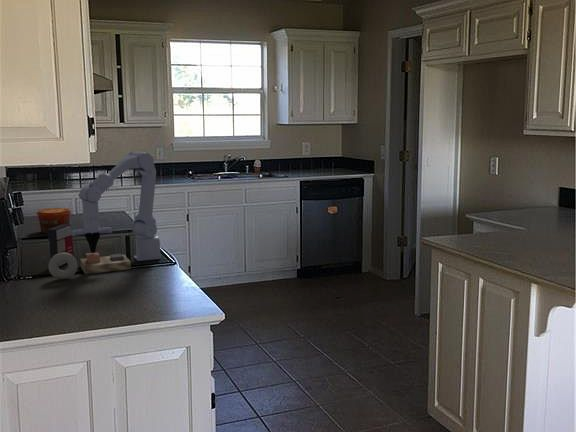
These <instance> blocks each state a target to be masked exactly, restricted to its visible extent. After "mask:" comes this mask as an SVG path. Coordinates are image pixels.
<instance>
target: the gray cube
mask: <svg viewBox="0 0 576 432" xmlns="http://www.w3.org/2000/svg"><path fill="white" fill-rule="evenodd" d="M123 255H124V254H122V253H116V254H110V255H109V256H110V260H111V261H118V260H124V256H123Z"/></svg>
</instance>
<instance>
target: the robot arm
mask: <svg viewBox="0 0 576 432" xmlns="http://www.w3.org/2000/svg"><path fill="white" fill-rule="evenodd" d="M130 169H135V170H137V171H138V172H139V174H140V175H141V184H140V196H139V204H138V205H139V206H138V213H137V214H136V216H134V221H133V224H132V225H131V231H132V232H133V233H134V238H135V251H136V255H133V258H134V259H135V260H136V261H138V262H141V261H142V262H143V261H152V260H160V259H162V257H161V241H160V237H159V236H157V235H156V234H157V232H158V228H157V223H156V222H157V219H156V218H155V217H154V215H153V211H154V210H153V209H154V201H155V189H156V179H157V178H156V177H157V170H156V166H155V157H153V156H152V155H151V153H149V152H147V151H146V152H141V151H135V150H132V151H130V152H129V153H128V154H126V155H124V157H123V159H122V160H120V162H118V163H117V164H116V165H115V166H114V167H113V168H111V170H110V171H109V172H108V173H105V172H104V173H99V174H98V175H97V178H95V179H94V180H93V181H90V182H89V183H88V185H85V186H83V187H82V188H81V189H80V191H79V193H78V197H79V199H80V201H81V204H82V221H83V228H78V229H71V236H72V237H75V236H83V235H84V238H85V240H86V241H87V244H88V246H89V250H90V253H96V249H97V245H98V243H99V239H100V238H101V234H105V233H107V234H111V233H113V229H112V227H111V226H100V214H99V213H100V212H99V210H100V209H99V201H100V200H101V197H102V195H103V194H104V193H105V192H106V191H107V190H109V188H111V187H112V186H113V185H114V181H115V180H116V179H117V178H118V177H120V176H121V175H123V174H124V173H125V172H127V171H128V170H130Z"/></svg>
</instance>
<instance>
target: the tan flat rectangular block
mask: <svg viewBox="0 0 576 432" xmlns="http://www.w3.org/2000/svg"><path fill="white" fill-rule="evenodd" d="M122 255H123V256H124V260H118V261H111V260H110V255H108V256H107V255H106V256H100V262H98V263H88V264H87V261H86V258H79V259H80V268H81V269H82V271H83V273H84V275H88V274H97V273H107V272H117V271H124V270H125V271H126V270H131V269H132V265H131V264H132V263H131V260H130V259H129V258H128V257H127V256H126V254H122Z"/></svg>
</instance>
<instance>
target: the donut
mask: <svg viewBox="0 0 576 432" xmlns="http://www.w3.org/2000/svg"><path fill="white" fill-rule="evenodd" d="M60 262H66V264H67V268H66V269H60V267H58V265H59V263H60ZM47 266H48V267H47V268H48V272H49V273H50V274H51V276H52V277H54V278H56V279H57V280H68V279H70V278H72V277H73V276H74V275H75V274H76V272H77V271H78V268H79V267H78V266H79V265H78V260H77V259H76V257H75V256H74V254H73V255H71V254H69V253H64V252H62V253H58V254H56V255H54V256H53V257H52V258H50V260H49V262H48V265H47Z"/></svg>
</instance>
